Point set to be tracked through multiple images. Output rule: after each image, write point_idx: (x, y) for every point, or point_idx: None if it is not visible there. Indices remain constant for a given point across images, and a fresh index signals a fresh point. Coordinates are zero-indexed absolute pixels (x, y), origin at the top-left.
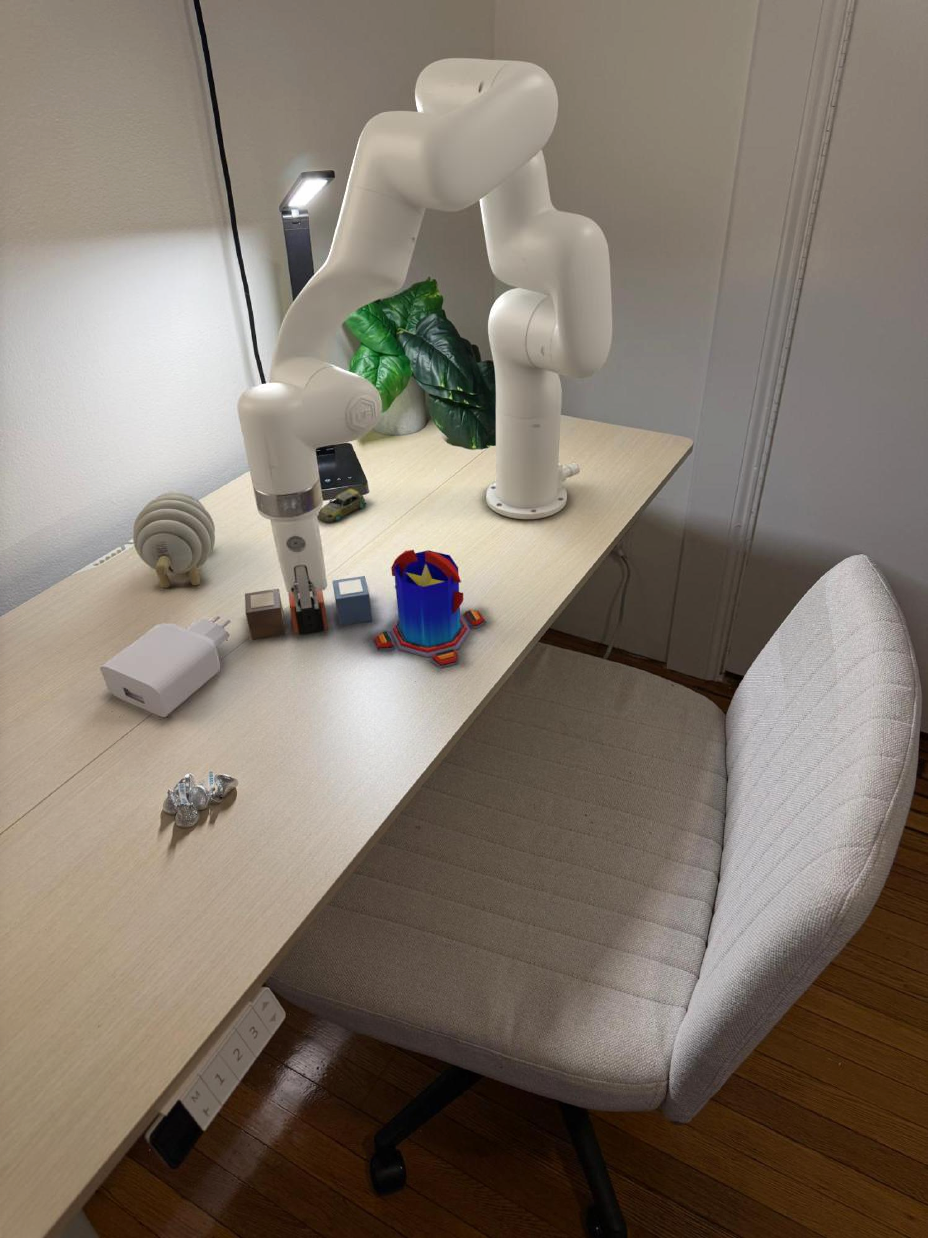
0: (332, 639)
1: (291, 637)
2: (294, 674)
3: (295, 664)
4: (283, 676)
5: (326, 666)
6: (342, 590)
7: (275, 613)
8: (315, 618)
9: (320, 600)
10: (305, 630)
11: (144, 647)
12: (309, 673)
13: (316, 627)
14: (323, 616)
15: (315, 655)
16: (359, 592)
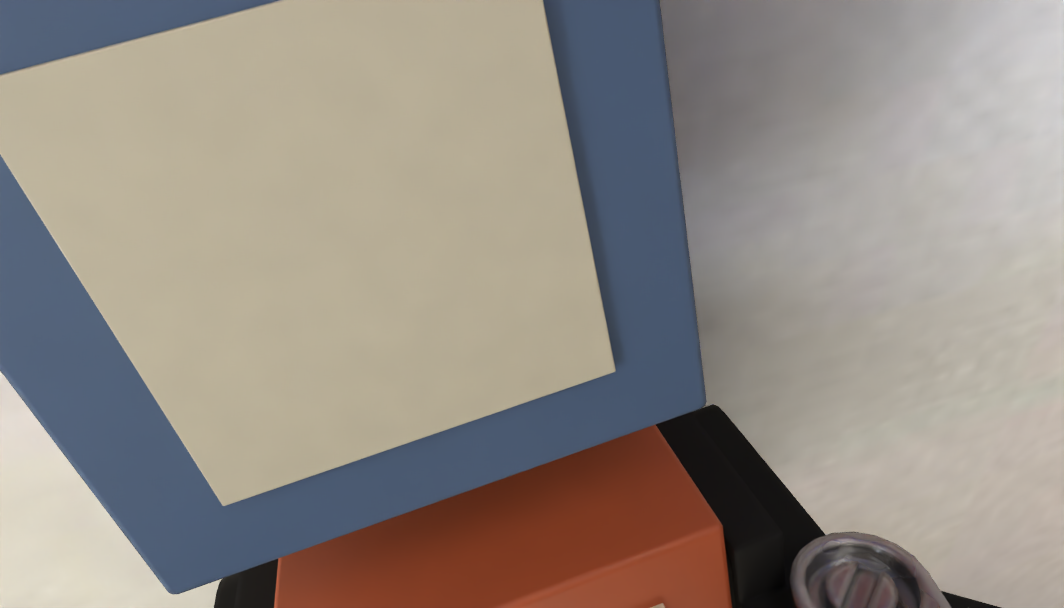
0: (736, 241)
1: None
2: (1021, 391)
3: (937, 413)
4: (1013, 442)
5: (1027, 214)
6: (490, 373)
7: None
8: (775, 480)
9: (688, 570)
10: None
11: None
12: (1048, 309)
13: (722, 415)
14: None
15: (890, 319)
16: (547, 23)
